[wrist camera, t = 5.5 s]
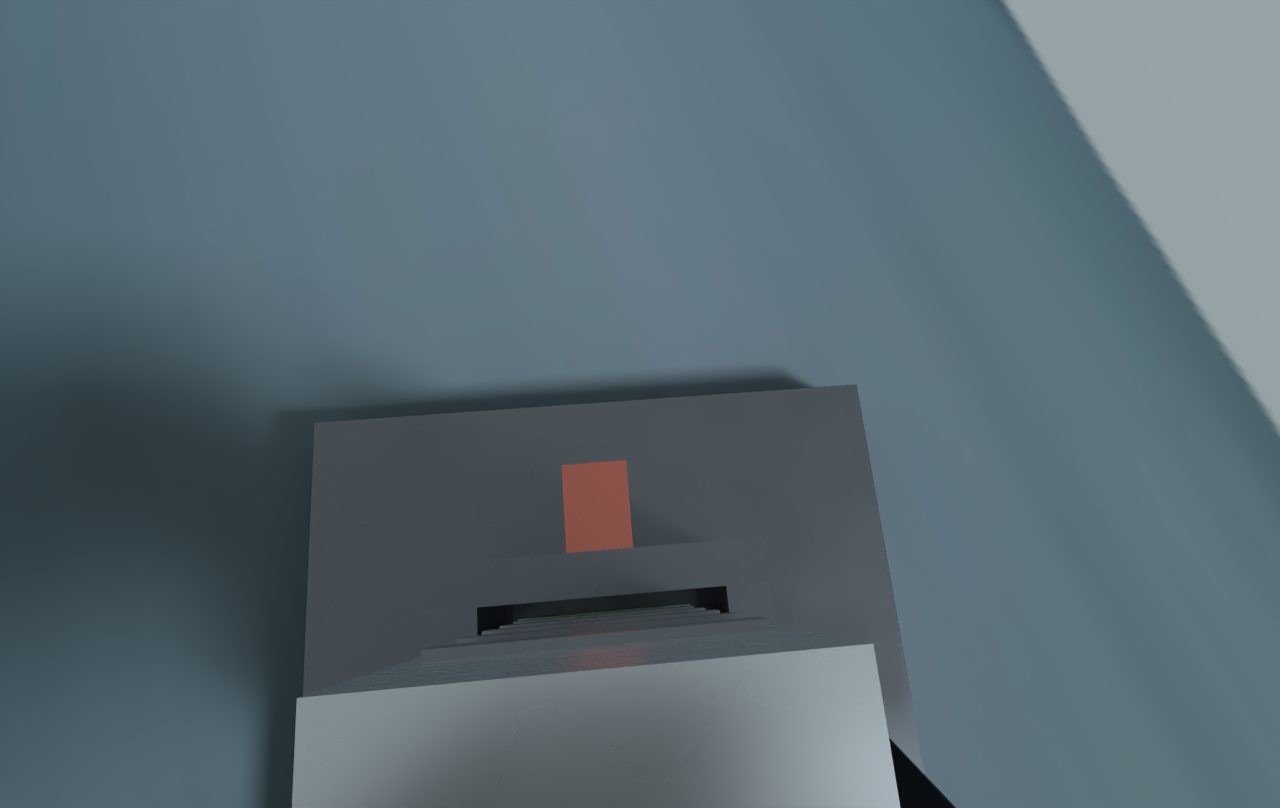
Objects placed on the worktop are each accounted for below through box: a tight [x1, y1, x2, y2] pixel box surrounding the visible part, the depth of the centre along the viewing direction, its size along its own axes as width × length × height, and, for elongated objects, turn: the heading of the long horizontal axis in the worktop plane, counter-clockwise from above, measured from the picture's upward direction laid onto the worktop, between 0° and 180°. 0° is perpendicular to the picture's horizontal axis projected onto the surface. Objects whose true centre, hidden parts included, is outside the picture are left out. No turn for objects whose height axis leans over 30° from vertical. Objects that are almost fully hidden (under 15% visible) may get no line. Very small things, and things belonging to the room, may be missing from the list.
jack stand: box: [303, 385, 925, 775], centre depth 14 cm, size 14×14×6 cm
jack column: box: [292, 604, 900, 808], centre depth 9 cm, size 4×4×10 cm
